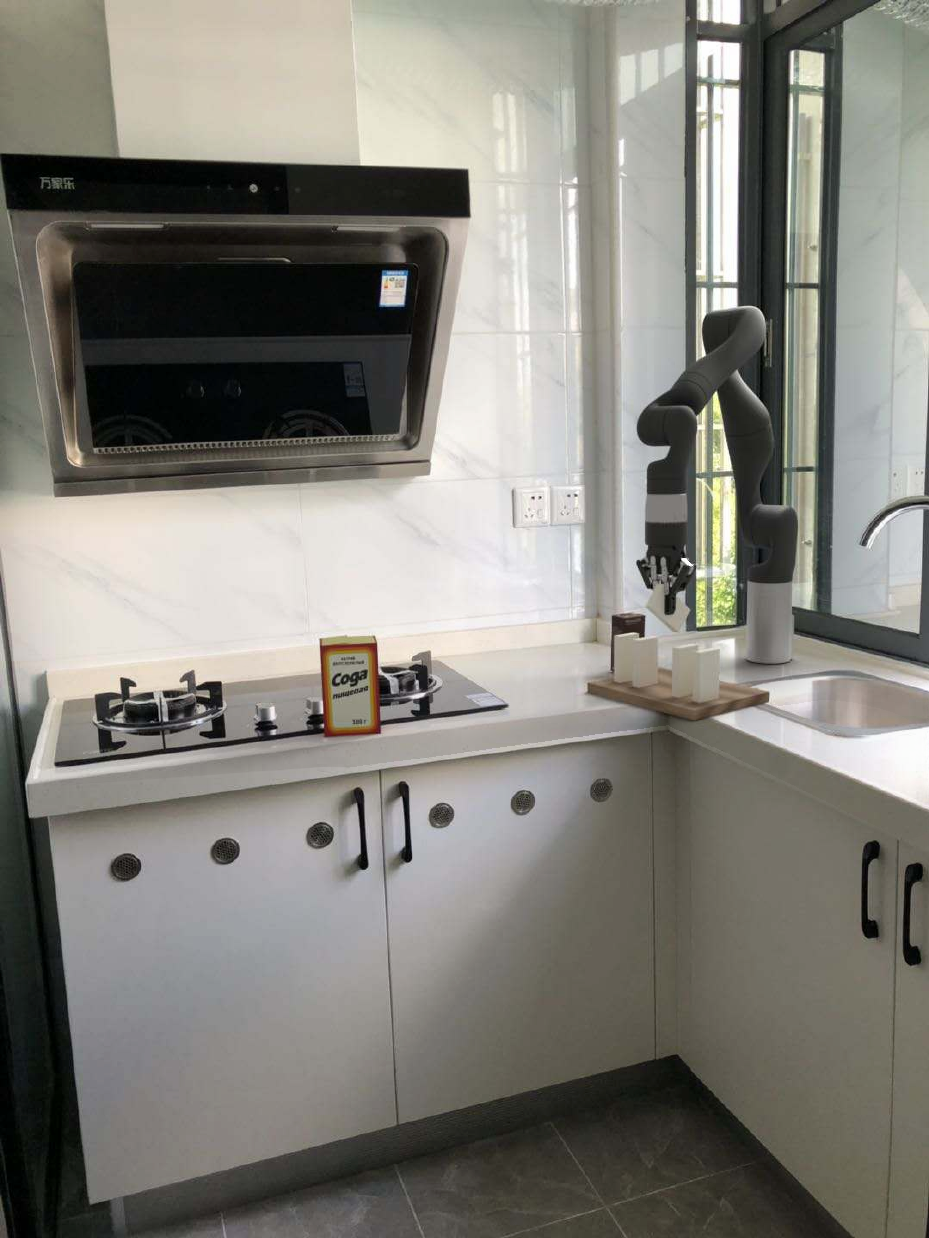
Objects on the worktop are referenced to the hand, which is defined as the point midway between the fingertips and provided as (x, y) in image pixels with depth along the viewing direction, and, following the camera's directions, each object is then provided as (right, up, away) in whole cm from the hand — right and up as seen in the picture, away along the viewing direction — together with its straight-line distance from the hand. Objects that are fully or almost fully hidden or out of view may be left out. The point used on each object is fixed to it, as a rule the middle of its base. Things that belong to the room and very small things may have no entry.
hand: (665, 613), depth 186 cm
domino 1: (-5, -13, +10) cm, 17 cm away
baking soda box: (-56, -20, -12) cm, 61 cm away
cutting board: (+3, -15, +4) cm, 16 cm away
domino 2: (-2, -13, +6) cm, 15 cm away
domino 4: (+3, -15, -2) cm, 15 cm away
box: (-3, -12, +26) cm, 29 cm away
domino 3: (+4, -1, +3) cm, 5 cm away
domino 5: (+6, -15, -6) cm, 17 cm away
